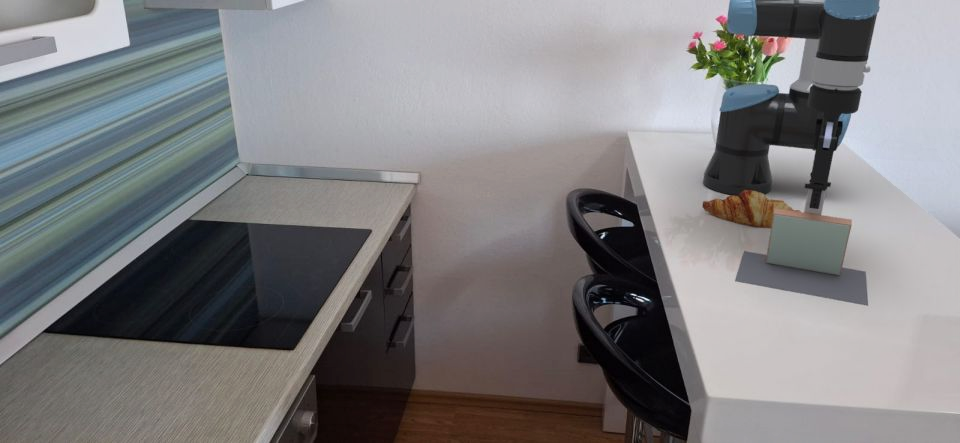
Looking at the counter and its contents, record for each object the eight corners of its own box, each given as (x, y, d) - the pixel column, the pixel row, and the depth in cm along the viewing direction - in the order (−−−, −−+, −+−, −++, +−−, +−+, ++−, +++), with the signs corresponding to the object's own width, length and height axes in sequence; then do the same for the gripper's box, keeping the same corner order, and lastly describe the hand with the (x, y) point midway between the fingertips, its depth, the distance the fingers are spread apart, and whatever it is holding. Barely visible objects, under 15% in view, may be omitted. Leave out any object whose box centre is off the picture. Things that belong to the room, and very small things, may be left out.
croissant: (806, 242, 152) (813, 203, 153) (812, 235, 143) (819, 194, 143) (700, 224, 159) (706, 188, 160) (698, 217, 150) (705, 178, 150)
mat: (743, 255, 136) (744, 251, 136) (864, 275, 129) (865, 271, 128) (734, 285, 124) (734, 280, 124) (867, 310, 117) (868, 305, 116)
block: (766, 257, 133) (774, 208, 128) (840, 269, 128) (851, 219, 123) (765, 263, 131) (773, 213, 126) (840, 276, 126) (851, 225, 121)
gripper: (863, 94, 112) (834, 240, 120) (861, 81, 123) (834, 215, 131) (809, 90, 115) (784, 233, 123) (812, 77, 126) (789, 209, 134)
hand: (810, 224), depth 127 cm, fingers closed
